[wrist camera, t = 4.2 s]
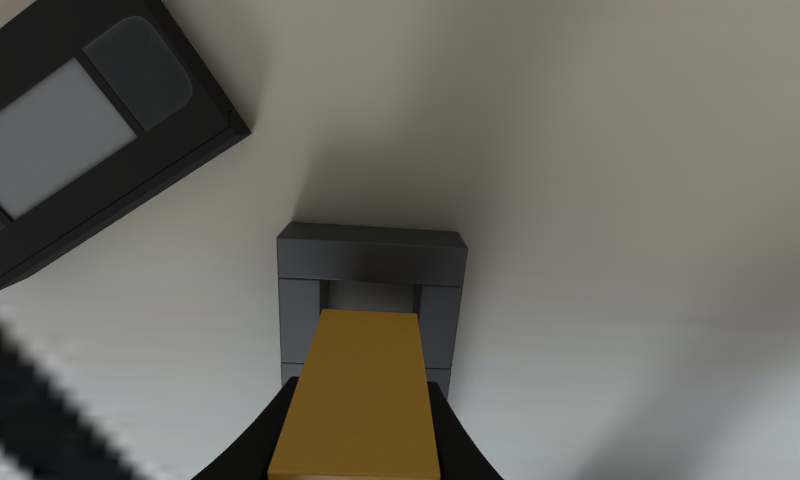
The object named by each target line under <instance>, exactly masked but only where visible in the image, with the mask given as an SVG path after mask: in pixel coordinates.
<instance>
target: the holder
mask: <svg viewBox="0 0 800 480" xmlns="http://www.w3.org/2000/svg"><path fill="white" fill-rule="evenodd" d="M467 252H468V248H467V246H466V244H465V243H464V241H463V239H462V238H461V236H460V234H459V233H458V232H448V231H432V230H415V229H398V228H382V227H365V226H348V225H332V224H315V223H298V222H290V223H289V224H288V225H287V226H286V227H285V229H284V230H283V231H282V232H281V233H280V234H279V235H278V236H277V265H278V277H279V278H278V292H279V320H280V347H281V379H282V387H283V386H284V385H285V383H286V382H287V381H288V379H289V378H290V377H292V376H300V374H301V371H302V368H303V365H304V362H305V359H306V356H307V353H308V351H309V348H310V345H311V342H312V339H313V336H314V333H315V330H316V327H317V324H318V321H319V318H320V315H321V312H322V310H323V309H328V288H329V280H343V281H362V282H381V283H401V284H415V295H414V306H413V313H416V314H417V318H418V325H419V332H420V339H421V346H422V352H423V359H424V366H425V373H426V379H427V381H431V382H437V383H438V384H439V386H440V388H441V390H442V392H443V394H444V396H445V398H446V400H447V396H448V389H449V382H450V375H451V366H452V359H453V352H454V345H455V338H456V331H457V324H458V316H459V309H460V302H461V295H462V286H463V281H464V274H465V267H466V260H467Z"/></svg>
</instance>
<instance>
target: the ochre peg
mask: <svg viewBox="0 0 800 480" xmlns="http://www.w3.org/2000/svg"><path fill="white" fill-rule="evenodd" d="M267 474H268V480H440V478H441V475H440V468H439V461H438V454H437V447H436V441H435V434H434V427H433V420H432V413H431V407H430V400H429V393H428V386H427V379H426V373H425V366H424V359H423V352H422V346H421V339H420V332H419V325H418V318H417V314H416V313H396V312H376V311H355V310H334V309H323V310H322V312H321V315H320V318H319V321H318V324H317V327H316V330H315V333H314V336H313V339H312V342H311V345H310V348H309V351H308V353H307V356H306V359H305V362H304V365H303V368H302V371H301V374H300V377H299V380H298V383H297V386H296V389H295V392H294V395H293V398H292V401H291V404H290V406H289V409H288V412H287V415H286V418H285V421H284V424H283V427H282V430H281V433H280V436H279V439H278V442H277V445H276V448H275V451H274V454H273V457H272V460H271V462H270V465H269V468H268V471H267Z"/></svg>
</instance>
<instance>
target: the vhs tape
mask: <svg viewBox="0 0 800 480" xmlns="http://www.w3.org/2000/svg"><path fill="white" fill-rule="evenodd" d="M234 110H235V108H234V106H233V105H232V103H231V102H230V100H229V99H228V97H227V96H226V94H225V93H224V92H223V90H222V89H221V87H220V86H219V84H218V83H217V81H216V80H215V78H214V77H213V76H212V74H211V73H210V71H209V70H208V68H207V67H206V65H205V64H204V63H203V61H202V60H201V58H200V57H199V55H198V54H197V52H196V51H195V49H194V48H193V47H192V45H191V44H190V42H189V41H188V39H187V38H186V36H185V35H184V33H183V32H182V31H181V29H180V28H179V26H178V25H177V23H176V22H175V20H174V19H173V18H172V16H171V15H170V13H169V12H168V10H167V9H166V7H165V6H164V5H163V3H162V2H161V0H36V1H35V2H34V3H32V4H31V5H30V6H29V7H27V8H26V9H25V10H23V11H22V12H21V13H20V14H18V15H17V16H16V17H14V18H13V19H12V20H11V21H9V22H8V23H7V24H5V25H4V26H3V27H2V28H0V290H2V289H4V288H6V287H8V286H11V285H13V284H15V283H17V282H20V281H22V280H24V279H26V278H28V277H30V276H32V275H33V274H35V273H36V272H38V271H39V270H41V269H42V268H44V267H46V266H47V265H49V264H50V263H52V262H53V261H55V260H56V259H58V258H60V257H61V256H63V255H64V254H66V253H67V252H69V251H70V250H72V249H74V248H75V247H77V246H78V245H80V244H81V243H83V242H84V241H86V240H87V239H89V238H91V237H92V236H94V235H95V234H97V233H98V232H100V231H101V230H103V229H105V228H106V227H108V226H109V225H111V224H112V223H114V222H115V221H117V220H118V219H120V218H122V217H123V216H125V215H126V214H128V213H129V212H131V211H132V210H134V209H136V208H137V207H139V206H140V205H142V204H143V203H145V202H146V201H148V200H149V199H151V198H153V197H154V196H156V195H157V194H159V193H160V192H162V191H163V190H165V189H167V188H168V187H170V186H171V185H173V184H174V183H176V182H177V181H179V180H180V179H182V178H184V177H185V176H187V175H188V174H190V173H191V172H193V171H194V170H196V169H198V168H199V167H201V166H202V165H204V164H205V163H207V162H208V161H210V160H212V159H213V158H215V157H216V156H218V155H219V154H221V153H222V152H224V151H225V150H227V149H229V148H230V147H232V146H233V145H235V144H236V143H238V142H239V141H241V140H243V139H244V138H246V137H247V136H249V135H250V134H252V133H251V131H250V130H249V128H248V127H247V126H246V124H245V123H244V121H243V120H242V118H241V117H240V115H239V114H238V112H237V111H234ZM232 111H233V112H232Z"/></svg>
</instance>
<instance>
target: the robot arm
mask: <svg viewBox="0 0 800 480" xmlns="http://www.w3.org/2000/svg"><path fill="white" fill-rule="evenodd" d="M299 377H300V376H292V377H290V378H289V379H288V381H287V382H286V383H285V385H284V386H283V387H282V388H281V390H280V391H279V392H278V394H277V395H276V396H275V397H274V399H273V400H272V401H271V402H270V403H269V405H268V406H267V407H266V408H265V409H264V410H263V412H262V413H261V414H260V415H259V416H258V417H257V418H256V420H255V421H254V422H253V423H252V424H251V425H250V426H249V427H248V428H247V429H246V430H245V431H244V432H243V433H242V434H241V435H240V436H239V437H238V438H237V439H236V440H235V441H234V442H233V443H232V444H231V445H230V446H229V447H228V448H227V449H226V450H225V451H224V452H223V453H222V454H221V455H219V456H218V457H217V458H216V459H215V460H214V461H213V462H212V463H210V464H209V465H208V466H207V467H206V468H204V469H203V470H202V471H201V472H199V473H198V474H197V475H196V476H195V477H193V478H192V479H191V480H268V474H267V471H268V468H269V465H270V462H271V460H272V457H273V454H274V451H275V448H276V445H277V442H278V439H279V436H280V433H281V430H282V427H283V424H284V421H285V418H286V415H287V412H288V409H289V406H290V404H291V401H292V398H293V395H294V392H295V389H296V386H297V383H298V380H299ZM427 386H428V393H429V400H430V407H431V413H432V420H433V427H434V434H435V441H436V447H437V454H438V461H439V468H440V475H441V478H440V480H504V479H503V478H502V477H501V476H500V475H499V474H498V473H497V471H496V470H495V469H494V468H493V467H492V466H491V464H490V463H489V462H488V461H487V460H486V458H485V457H484V456H483V454H482V453H481V452H480V451H479V449H478V448H477V447H476V445H475V444H474V442H473V441H472V440H471V438H470V437H469V435H468V434H467V432H466V431H465V430H464V428H463V426H462V425H461V423H460V422H459V420H458V419H457V417H456V415H455V414H454V412H453V410H452V409H451V407H450V405H449V403H448V402H447V400H446V398H445V396H444V394H443V392H442V390H441V388H440V386H439V384H438V383H437V382H431V381H427Z"/></svg>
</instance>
